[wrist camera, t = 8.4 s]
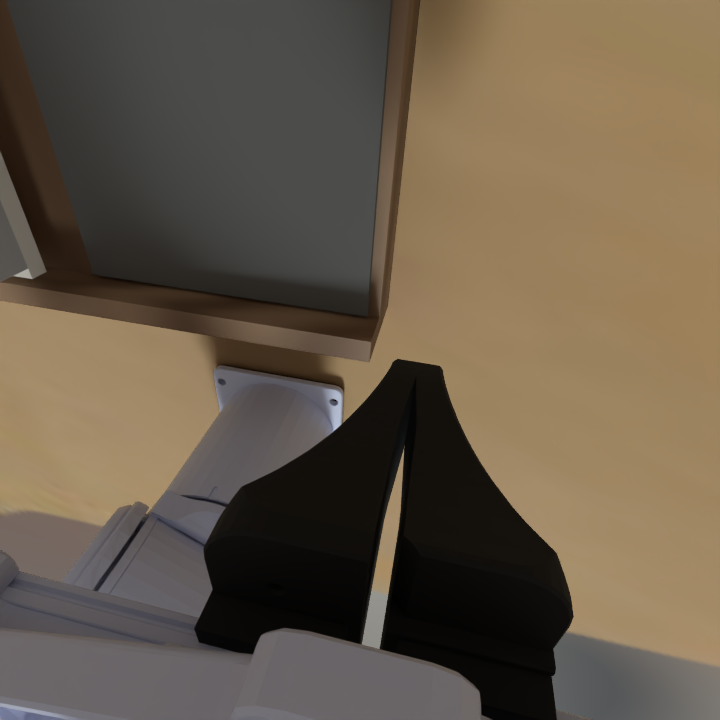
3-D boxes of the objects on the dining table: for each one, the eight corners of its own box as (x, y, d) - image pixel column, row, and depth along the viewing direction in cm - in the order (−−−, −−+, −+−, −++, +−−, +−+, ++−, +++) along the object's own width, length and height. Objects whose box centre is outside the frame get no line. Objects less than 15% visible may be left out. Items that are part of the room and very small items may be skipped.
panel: (400, -99, 12) (398, -103, 12) (368, 312, 19) (366, 316, 19) (-19, -110, 14) (-31, -114, 13) (99, 271, 21) (93, 274, 21)
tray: (433, -127, 13) (417, -203, 9) (387, 305, 22) (369, 362, 18) (-286, -140, 17) (-517, -198, 13) (-83, 235, 26) (-184, 269, 22)
